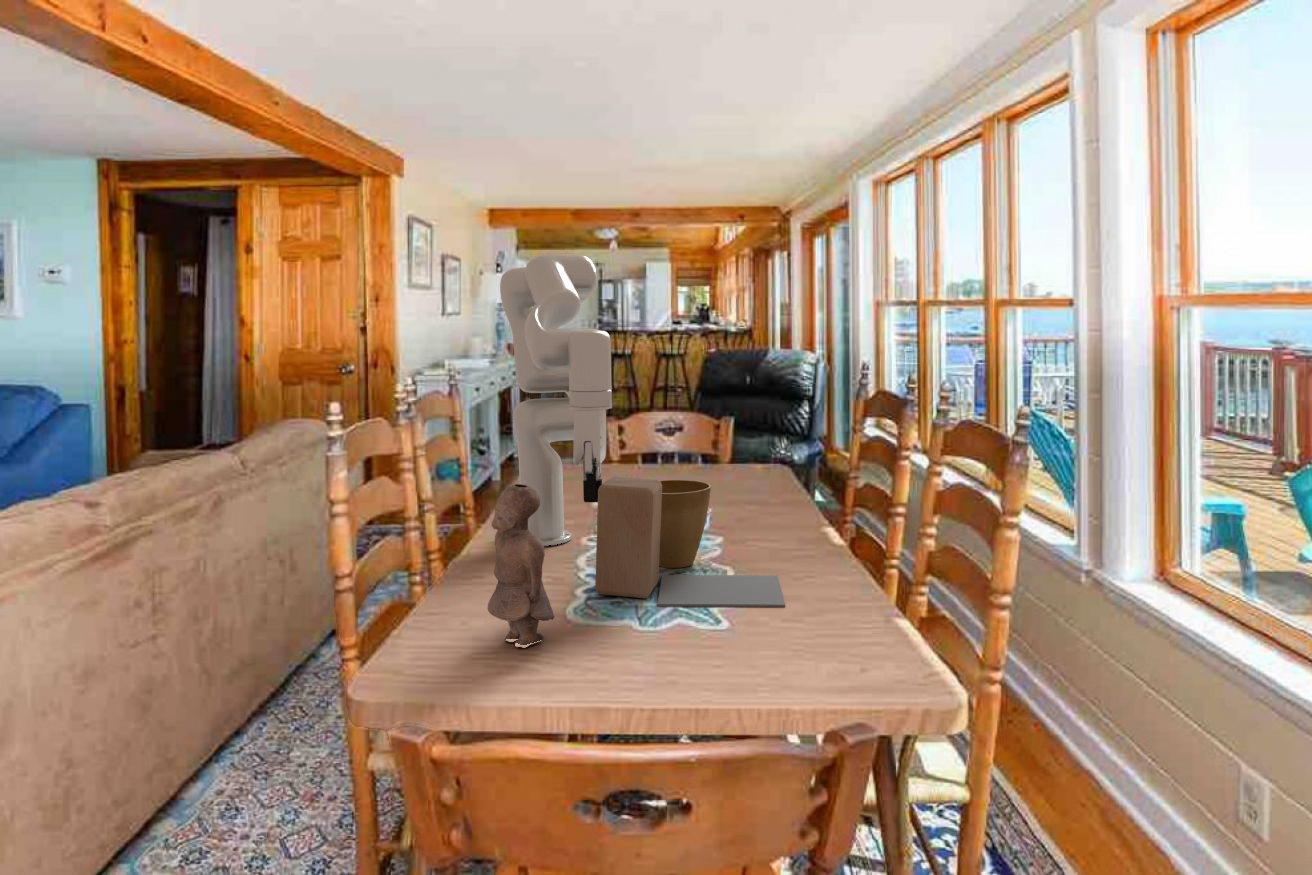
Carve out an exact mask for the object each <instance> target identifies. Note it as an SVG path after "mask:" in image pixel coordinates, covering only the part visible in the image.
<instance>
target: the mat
mask: <svg viewBox="0 0 1312 875" xmlns="http://www.w3.org/2000/svg"><path fill="white" fill-rule="evenodd" d="M659 586H660V587H659V592H658V598H657V599H658V600H657V607H729V608H730V607H733V608H734V607H735V608H736V607H741V608H743V607H744V608H747V607H748V608H750V607H751V608H752V607H756V608H758V607H760V608H765V607H767V608H768V607H770V608H771V607H772V608H773V607H774V608H775V607H776V608H777V607H778V608H785V607H786V602H785V599H784V595H783V591H782V587H781V583H780V580H779V576H778V575H776V574H774V575H773V574H771V575H770V574H769V575H768V574H767V575H765V574H764V575H763V574H761V575H760V574H759V575H757V574H750V575H749V574H743V575H742V574H739V575H738V574H735V575H734V574H733V575H732V574H730V575H728V574H662V575H661V579H660V585H659Z"/></svg>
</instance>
